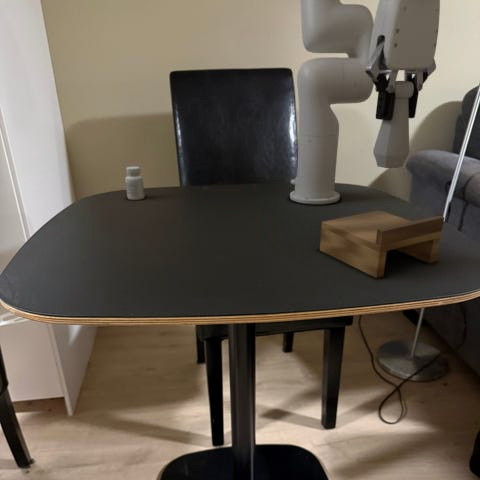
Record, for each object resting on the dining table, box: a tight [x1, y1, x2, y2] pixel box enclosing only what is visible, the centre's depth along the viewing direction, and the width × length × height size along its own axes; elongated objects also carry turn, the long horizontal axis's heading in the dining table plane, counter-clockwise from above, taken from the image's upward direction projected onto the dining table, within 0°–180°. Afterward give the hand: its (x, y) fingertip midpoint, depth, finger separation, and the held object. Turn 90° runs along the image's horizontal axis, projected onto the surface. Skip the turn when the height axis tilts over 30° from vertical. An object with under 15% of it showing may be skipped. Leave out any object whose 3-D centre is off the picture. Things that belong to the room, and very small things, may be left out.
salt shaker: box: [372, 80, 414, 169], centre depth 79 cm, size 6×6×13 cm
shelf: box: [319, 209, 445, 279], centre depth 85 cm, size 15×14×8 cm
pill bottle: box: [124, 165, 145, 201], centre depth 123 cm, size 4×4×8 cm
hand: (395, 117), depth 78 cm, fingers closed on salt shaker, 4 cm apart
